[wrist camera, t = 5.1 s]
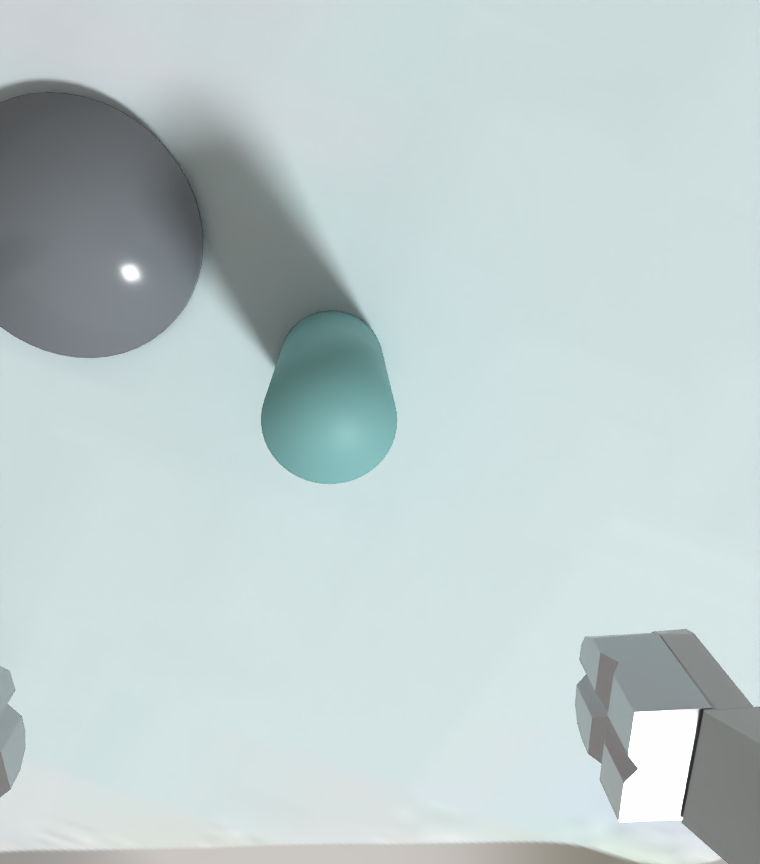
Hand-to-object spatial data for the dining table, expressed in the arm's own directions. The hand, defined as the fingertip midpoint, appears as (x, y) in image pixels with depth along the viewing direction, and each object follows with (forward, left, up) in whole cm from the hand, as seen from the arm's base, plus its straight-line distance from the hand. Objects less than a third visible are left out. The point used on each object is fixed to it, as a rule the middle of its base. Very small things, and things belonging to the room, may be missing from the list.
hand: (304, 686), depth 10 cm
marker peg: (0, 0, -18) cm, 18 cm away
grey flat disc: (+9, -5, -18) cm, 21 cm away
